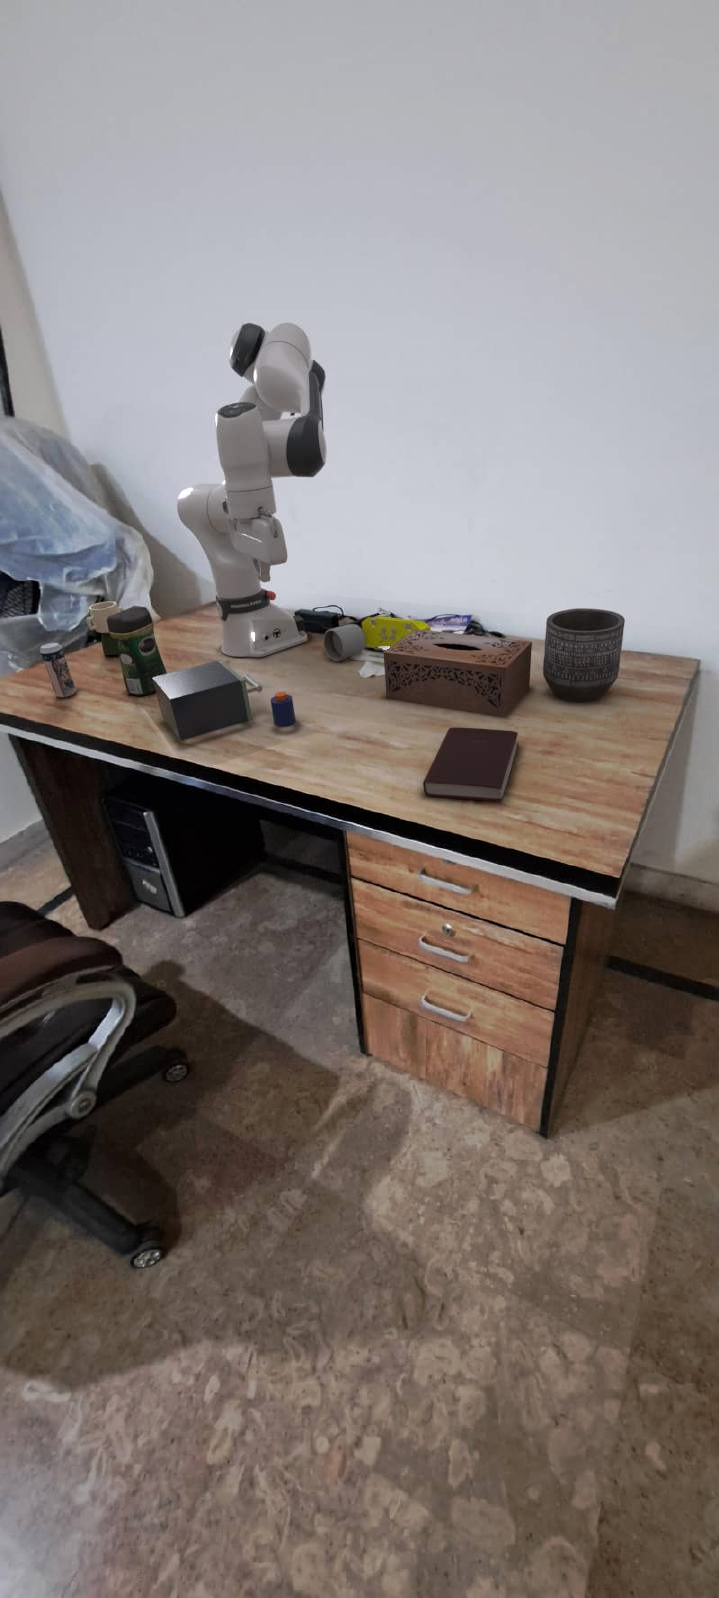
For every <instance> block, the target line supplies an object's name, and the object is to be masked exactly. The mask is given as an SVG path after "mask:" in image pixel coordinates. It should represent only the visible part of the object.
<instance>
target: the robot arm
mask: <svg viewBox="0 0 719 1598" xmlns="http://www.w3.org/2000/svg"><path fill="white" fill-rule="evenodd" d="M229 344H230V345H229V360H228V362H229V365H230V368H231V369H232V370H233V372H235V373H236V374H237V375H238V376H239V377H241V378H245V379H246V381H248V382H249V383H251V385H250V386H248V387H247V388H246V389H245V390H244V392H243V393H242V396H241V397H240V398H239V399H238V402H232V403H230V404H226V405H223V406H222V407H220V408H219V409H218V410H217V411H216V413H215V436H216V446H217V452H218V460H219V464H220V467H221V469H222V472H223V473H224V479H223V481H222V482H221V483H198V484H195V485H190V486H188V487H186V488H184V489H183V490H182V491H181V492H180V494H179V495H178V498H177V502H176V508H177V509H176V510H177V515H178V517H179V520H180V522H181V523H182V524H183V525H184V527H186V528H187V529H189V531H190V532H191V533H192V534H193V535H194V536H195V538H196V539H197V541H198V543H199V544H200V546H201V548H202V549H203V551H204V554H205V556H206V558H207V560H208V563H209V566H210V570H211V574H212V579H213V582H214V588H215V592H216V595H215V602H216V603H215V604H216V610H217V613H218V616H219V619H220V623H221V650H220V651H221V653H222V654H224V655H226V656H229V657H237V658H238V657H241V658H242V657H243V658H244V657H245V658H246V657H251V658H263V657H266V656H268V655H272V654H275V653H278V652H281V651H283V650H286V649H289V648H293V647H295V646H297V645H301V644H304V643H307V642H308V634H307V633H306V632H305V631H306V625H307V624H308V625H309V624H310V625H311V624H312V625H316V626H317V627H319V629H320V630H322V631H327V630H329V629H333V628H337V627H341V626H345V625H349V624H355V625H359V624H360V623H362V622H363V621H364V620H365V619H366V618H368V617H373V618H377V617H379V616H381V615H386V614H385V613H383V614H379V613H378V612H375V613H373V614H370V615H367V616H364V617H361V618H359V619H358V620H355V621H352V622H349V623H346V624H342V625H339V626H334V627H327V626H326V627H325V626H323V625H322V624H321V622H318V621H315V620H305V619H304V618H303V617H302V616H301V615H299V614H296V615H292V614H291V613H290V612H288V611H286V610H285V609H284V608H281V607H279V606H278V605H276V604H274V603H273V602H271V601H275V600H276V599H277V594H276V593H275V591H272V590H268V589H265V588H262V585H261V582H262V583H267V582H271V573H270V572H271V567H272V566H277V565H283V564H285V563H287V562H288V561H287V560H288V549H287V544H286V539H285V534H284V529H283V526H282V523H281V522H280V520H279V518H276V517H275V515H274V514H276V513H277V511H278V510H277V505H276V503H277V502H276V496H275V490H274V482H273V480H272V479H276V478H277V479H279V478H292V477H293V478H294V477H297V478H314V477H315V476H317V475H318V474H319V472H320V471H321V470H322V469H323V468H324V466H325V465H326V460H327V453H328V451H327V450H328V449H327V441H326V436H325V432H324V431H325V430H324V411H323V410H324V409H323V398H322V396H323V394H324V391H325V385H326V372H325V369H324V368H323V366H322V365H321V364H320V363H319V362H318V361H316V359H312V347H311V342H310V339H309V336H308V335H307V334H306V332H305V331H304V329H302V328H301V327H300V326H299V325H297V324H295V323H292V322H282V323H279V324H277V325H276V326H274V327H273V328H272V329H271V330H270V331H268V330H267V329H264V328H263V327H262V326H261V325H258V324H255V323H251V322H246V323H244V324H242V325H241V327H240V328H238V329H237V330H236V332H235V333H234V334H233V336H232V338H231V341H230V343H229ZM284 413H289V416H290V418H283V419H282V416H283V414H284ZM296 414H300V415H299V416H296V417H294V416H295V415H296ZM291 417H292V418H291ZM389 616H391V617H394V616H395V614H394V613H393V612H391V614H390V615H389Z"/></svg>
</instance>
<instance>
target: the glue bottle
mask: <svg viewBox="0 0 719 1598" xmlns="http://www.w3.org/2000/svg"><path fill="white" fill-rule="evenodd" d="M270 707H271V711H272V712H271V713H272V719H273V724H274V725H275V727H280V728H285V727H290V726H292V725H294V724H295V723H296V721H297V720H296V714H295V706H294V700H293V696H292V695H290V694H287V692H285V691H278V692H276V693H274V695H273V697H271V698H270Z"/></svg>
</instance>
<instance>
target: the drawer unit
mask: <svg viewBox="0 0 719 1598" xmlns="http://www.w3.org/2000/svg"><path fill="white" fill-rule="evenodd" d="M218 661H219V660H214V661H209V662H206V663H203V664H199V665H195V666H191V667H187V668H183V669H179V670H175V671H172V672H167V674H164V675H160V676H156V677H152V679H153V683H154V687H155V694H156V698H157V702H158V705H159V710H160V713H161V717H162V718H163V720H164V721H165V722H166V724H167V725H168V726H169V728H170V729H171V730H172V732H173V733H174V734H175V736H176V737H177V738H178V739H179V741H180V742H182V741H185V740H186V741H187V740H189V739H193V738H195V737H198V736H202V735H205V734H208V733H213V732H215V731H219V730H222V729H226V728H229V727H232V726H236V725H239V724H242V723H245V722H248V719H247V714H246V709H245V703H244V698H243V693H242V688H241V683H240V680H239V679H238V678H237V677H236V676H234V675H233V674H232V673H231V672H230V671H229V670H228V669H226V668H225V667H224V666H223V665H222V664H221V663H220V662H218Z"/></svg>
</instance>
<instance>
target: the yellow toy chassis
mask: <svg viewBox="0 0 719 1598" xmlns="http://www.w3.org/2000/svg"><path fill="white" fill-rule="evenodd" d="M361 628H362V630H363V631H364V633H365V636H366V646H365V648H370V649H371V648H372V650H373V651H378V652H379V651H382V653H383V652H384V651H386V650H383V649H382V648H375V647H379V646H390V647H391V646H393V645H394V644H396V643H397V642H398V641H400V640H401V639H403V638H404V637H405V636H407V635H408V634H410V633H411V632H412V631H414V630H415V629H420V630H429V631H432V629H431V627H430V625H428V624H427V623H426V622H425V621H424V620H415V619H407V618H406V619H405V618H399V617H398V618H396V617H390V616H389V617H388V616H381V615H378V616H376V617H368V618H366V619H365V620H364V621H362V622H361Z"/></svg>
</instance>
